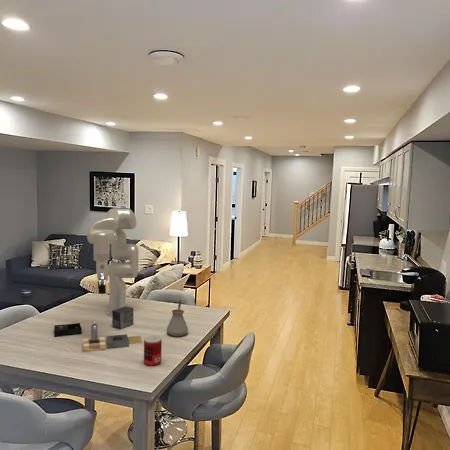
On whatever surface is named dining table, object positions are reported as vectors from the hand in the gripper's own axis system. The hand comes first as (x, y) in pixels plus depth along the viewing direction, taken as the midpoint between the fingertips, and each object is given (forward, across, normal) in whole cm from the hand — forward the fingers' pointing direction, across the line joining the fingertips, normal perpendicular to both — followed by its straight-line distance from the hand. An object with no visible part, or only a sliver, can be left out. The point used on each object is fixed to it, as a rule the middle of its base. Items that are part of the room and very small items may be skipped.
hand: (101, 290), depth 204 cm
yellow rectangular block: (+26, -8, -15) cm, 31 cm away
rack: (+25, -9, +4) cm, 27 cm away
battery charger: (+27, +14, +16) cm, 34 cm away
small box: (+27, +17, -12) cm, 34 cm away
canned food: (+25, -33, -20) cm, 46 cm away
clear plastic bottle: (+25, -9, +4) cm, 27 cm away
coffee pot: (+26, +3, -40) cm, 48 cm away
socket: (+26, -8, -7) cm, 28 cm away
